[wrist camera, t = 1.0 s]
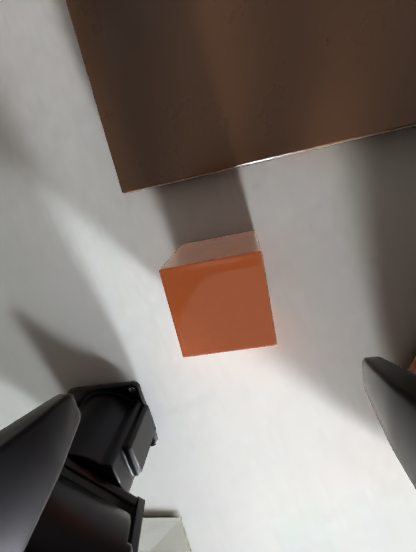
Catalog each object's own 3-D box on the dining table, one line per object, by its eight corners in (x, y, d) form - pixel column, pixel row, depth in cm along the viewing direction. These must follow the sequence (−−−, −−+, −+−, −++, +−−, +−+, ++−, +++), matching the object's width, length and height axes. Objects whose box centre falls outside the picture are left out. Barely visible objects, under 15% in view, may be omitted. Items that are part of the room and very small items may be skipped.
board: (130, 192, 19) (122, 193, 17) (59, -59, 15) (40, -84, 14) (471, 112, 16) (494, 105, 14) (487, -233, 12) (521, -289, 10)
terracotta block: (198, 310, 21) (183, 357, 15) (181, 244, 19) (158, 270, 14) (266, 299, 20) (277, 345, 14) (254, 229, 19) (261, 250, 13)
